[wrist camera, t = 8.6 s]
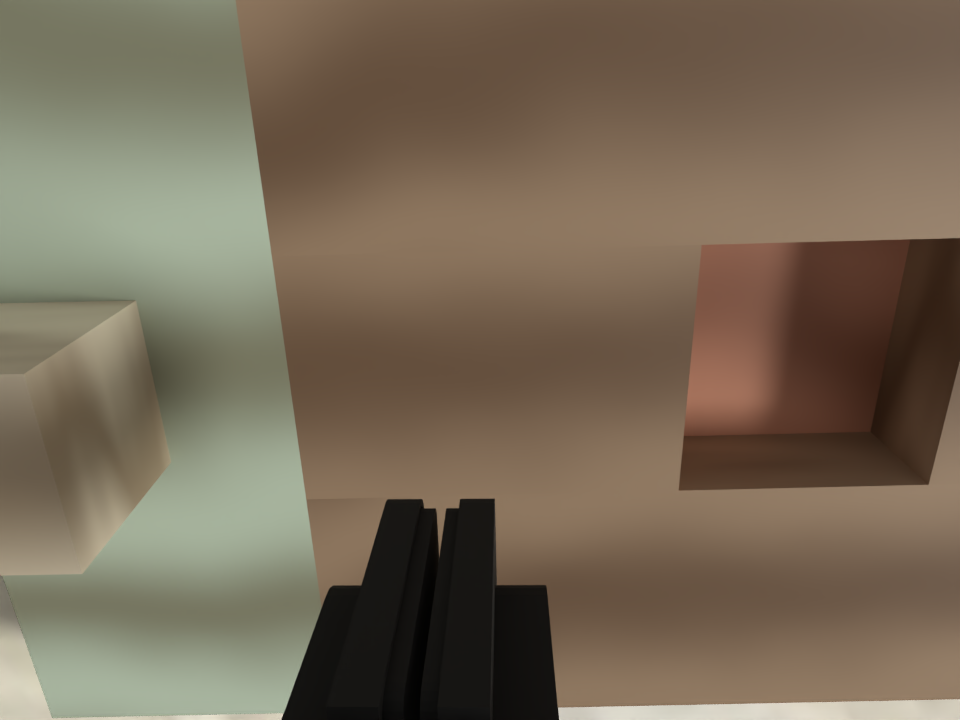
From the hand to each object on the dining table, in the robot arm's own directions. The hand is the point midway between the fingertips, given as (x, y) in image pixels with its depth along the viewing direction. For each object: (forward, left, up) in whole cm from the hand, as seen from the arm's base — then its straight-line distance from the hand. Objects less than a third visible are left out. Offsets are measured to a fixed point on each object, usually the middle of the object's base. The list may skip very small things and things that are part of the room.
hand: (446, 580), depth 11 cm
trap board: (+1, -5, -9) cm, 10 cm away
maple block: (+1, +9, -6) cm, 11 cm away
